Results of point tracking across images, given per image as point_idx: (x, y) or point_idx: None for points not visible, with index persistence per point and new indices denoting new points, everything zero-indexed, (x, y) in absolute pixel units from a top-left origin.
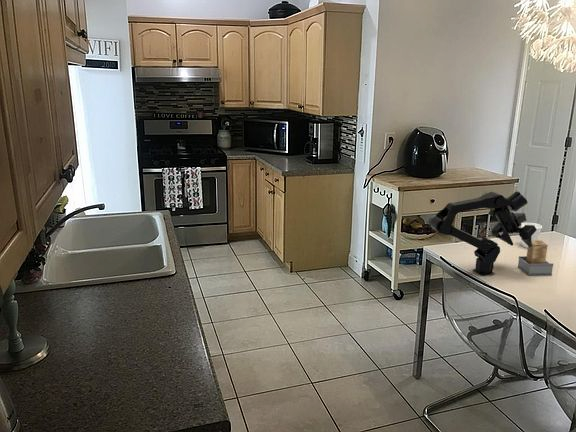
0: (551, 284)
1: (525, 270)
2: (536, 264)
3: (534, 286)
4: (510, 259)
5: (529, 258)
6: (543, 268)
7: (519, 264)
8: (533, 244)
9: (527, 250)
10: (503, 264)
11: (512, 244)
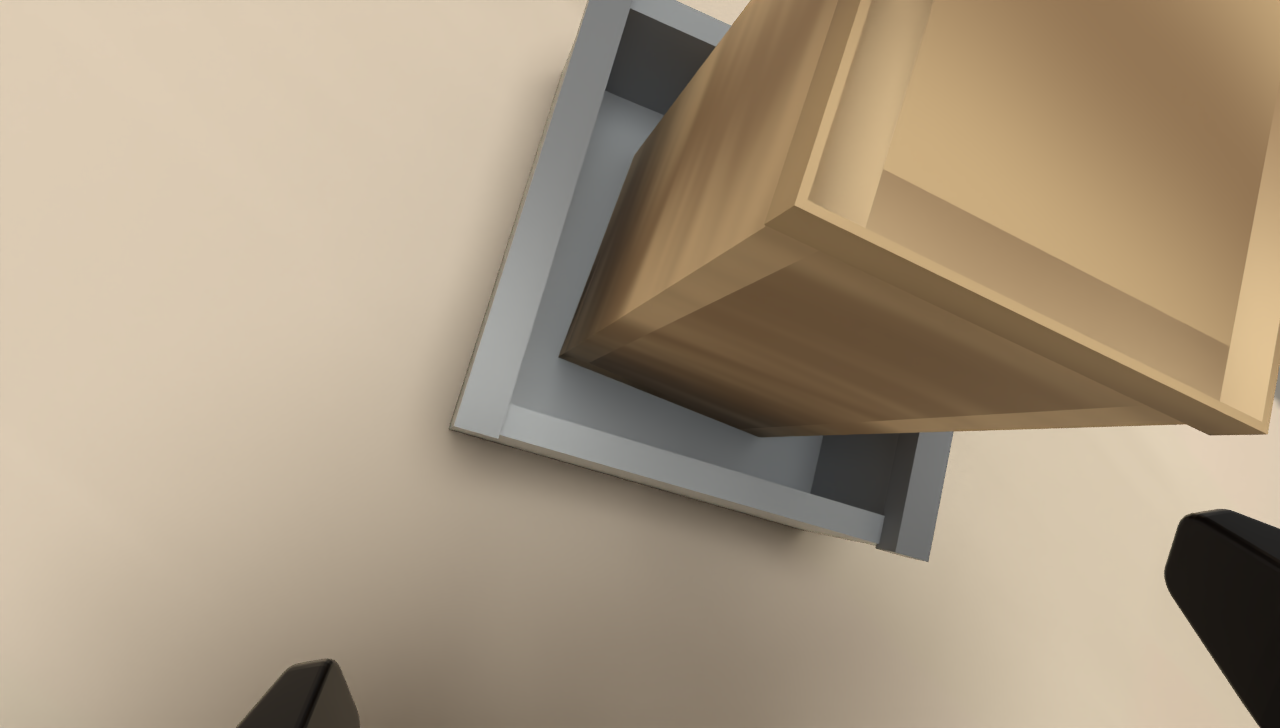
0: (1095, 456)
1: (716, 503)
2: (951, 434)
3: (1096, 724)
4: (17, 244)
5: (751, 385)
6: None
7: (502, 441)
8: (1230, 415)
9: (664, 302)
10: (212, 590)
11: (344, 723)
